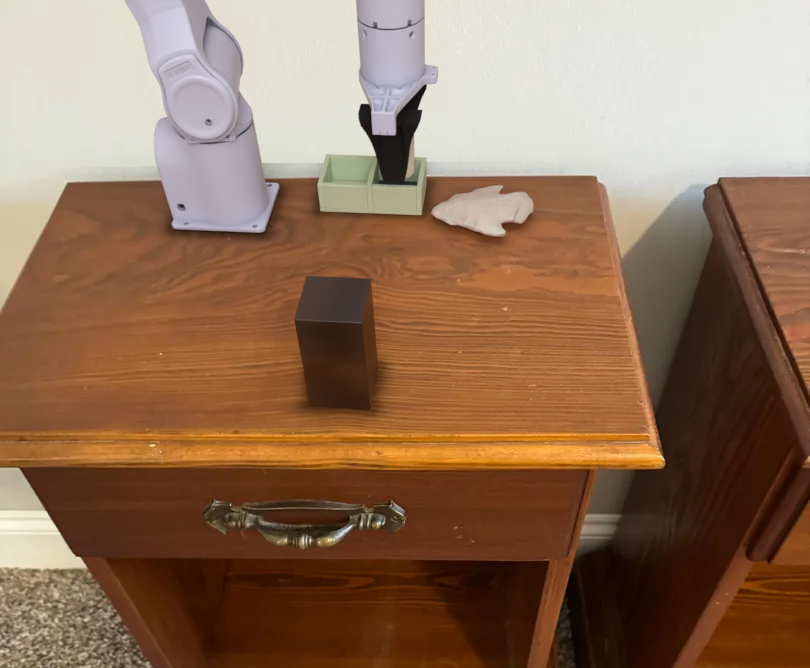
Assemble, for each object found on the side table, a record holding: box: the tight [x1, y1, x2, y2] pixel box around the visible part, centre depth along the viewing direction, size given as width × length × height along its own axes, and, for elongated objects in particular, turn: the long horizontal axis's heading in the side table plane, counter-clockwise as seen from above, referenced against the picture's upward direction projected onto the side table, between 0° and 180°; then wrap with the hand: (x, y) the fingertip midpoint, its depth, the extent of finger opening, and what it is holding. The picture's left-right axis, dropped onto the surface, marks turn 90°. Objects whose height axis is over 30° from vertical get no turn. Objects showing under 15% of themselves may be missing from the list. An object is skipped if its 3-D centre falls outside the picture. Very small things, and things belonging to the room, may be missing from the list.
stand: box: [293, 275, 379, 410], centre depth 61 cm, size 5×5×9 cm
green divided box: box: [316, 153, 428, 216], centre depth 78 cm, size 10×5×3 cm, turn 84°
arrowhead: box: [430, 184, 534, 238], centre depth 76 cm, size 8×3×10 cm
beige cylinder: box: [405, 135, 416, 179], centre depth 75 cm, size 3×3×4 cm
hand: (396, 168), depth 76 cm, fingers closed on beige cylinder, 3 cm apart
